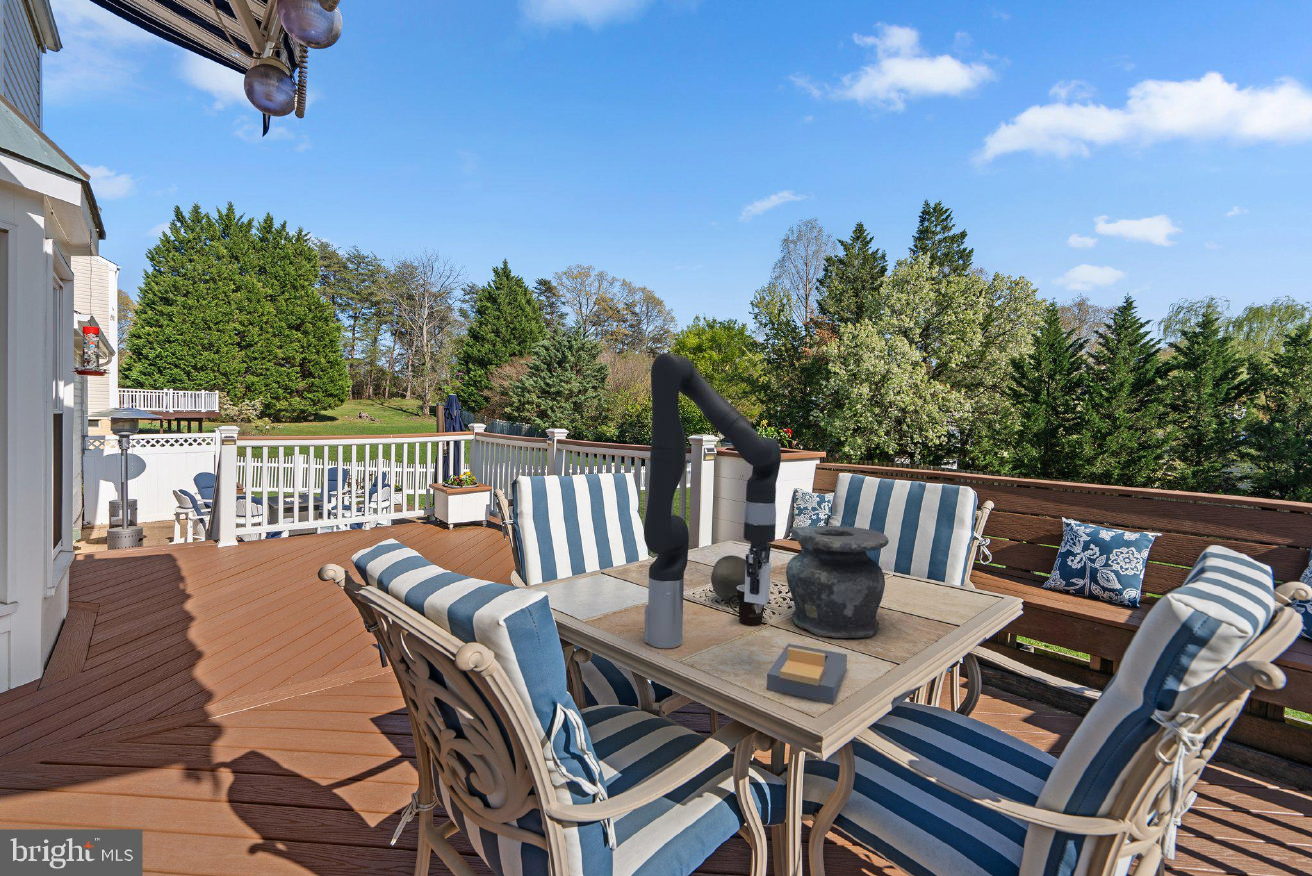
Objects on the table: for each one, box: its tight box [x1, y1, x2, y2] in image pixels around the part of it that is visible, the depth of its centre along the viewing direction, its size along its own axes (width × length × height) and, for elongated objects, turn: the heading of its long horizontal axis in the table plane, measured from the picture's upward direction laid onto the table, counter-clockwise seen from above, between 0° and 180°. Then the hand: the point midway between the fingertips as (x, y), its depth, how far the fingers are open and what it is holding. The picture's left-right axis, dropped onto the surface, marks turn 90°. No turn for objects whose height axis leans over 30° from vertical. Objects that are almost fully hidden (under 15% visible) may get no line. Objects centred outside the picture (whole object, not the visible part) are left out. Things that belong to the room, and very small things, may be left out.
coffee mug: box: [727, 585, 765, 627], centre depth 169 cm, size 12×9×10 cm
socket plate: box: [766, 643, 848, 705], centre depth 132 cm, size 14×20×4 cm
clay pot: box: [785, 525, 890, 639], centre depth 170 cm, size 29×30×30 cm
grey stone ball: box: [710, 554, 746, 603], centre depth 189 cm, size 14×14×15 cm
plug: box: [744, 562, 772, 606], centre depth 139 cm, size 5×4×9 cm
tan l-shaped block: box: [780, 647, 825, 686], centre depth 126 cm, size 8×8×4 cm
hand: (757, 591), depth 139 cm, fingers closed on plug, 4 cm apart
